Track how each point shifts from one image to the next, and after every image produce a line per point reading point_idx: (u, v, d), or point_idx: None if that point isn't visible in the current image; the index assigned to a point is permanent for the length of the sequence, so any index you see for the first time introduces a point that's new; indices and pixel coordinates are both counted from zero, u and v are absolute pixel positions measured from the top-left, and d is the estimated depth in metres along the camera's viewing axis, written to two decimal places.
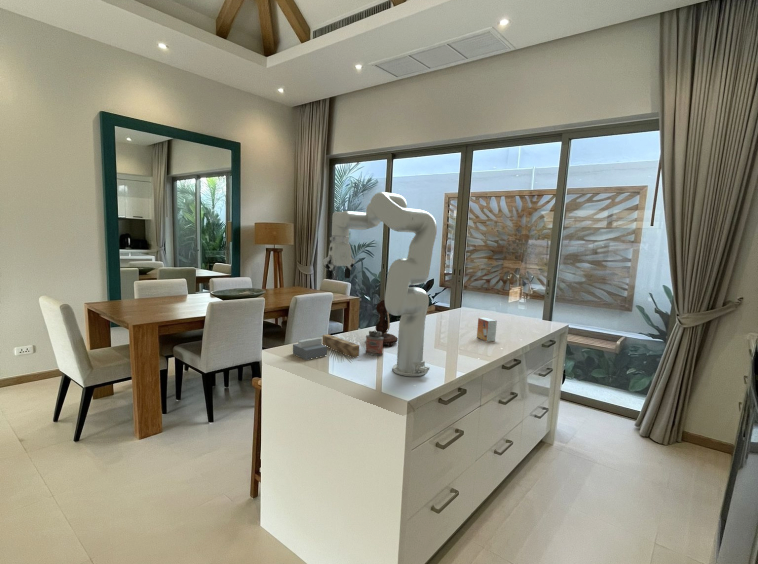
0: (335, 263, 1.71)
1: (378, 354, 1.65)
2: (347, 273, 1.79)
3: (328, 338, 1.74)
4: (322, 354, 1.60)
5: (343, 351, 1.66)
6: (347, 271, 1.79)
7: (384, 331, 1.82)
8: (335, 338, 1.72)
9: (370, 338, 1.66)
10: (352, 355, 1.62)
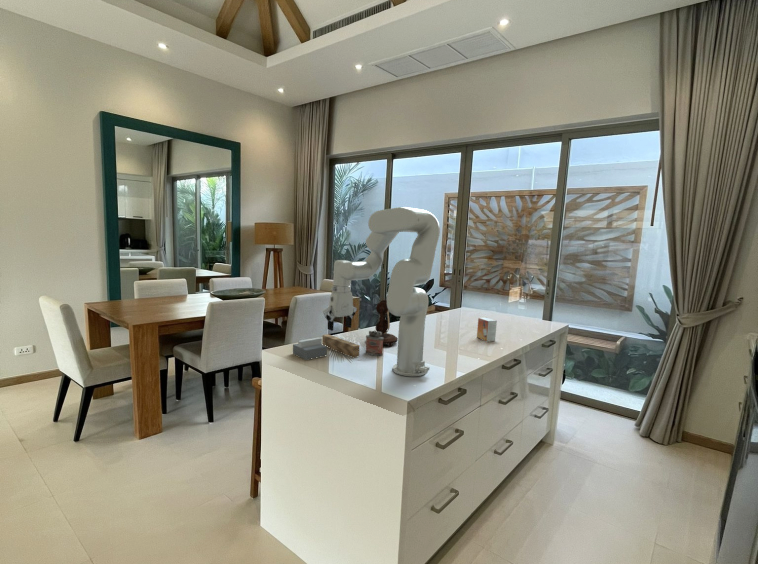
0: (336, 314, 1.64)
1: (378, 354, 1.65)
2: (348, 322, 1.72)
3: (328, 338, 1.74)
4: (322, 354, 1.60)
5: (343, 351, 1.66)
6: (348, 320, 1.72)
7: (384, 331, 1.82)
8: (335, 338, 1.72)
9: (370, 338, 1.66)
10: (352, 355, 1.62)
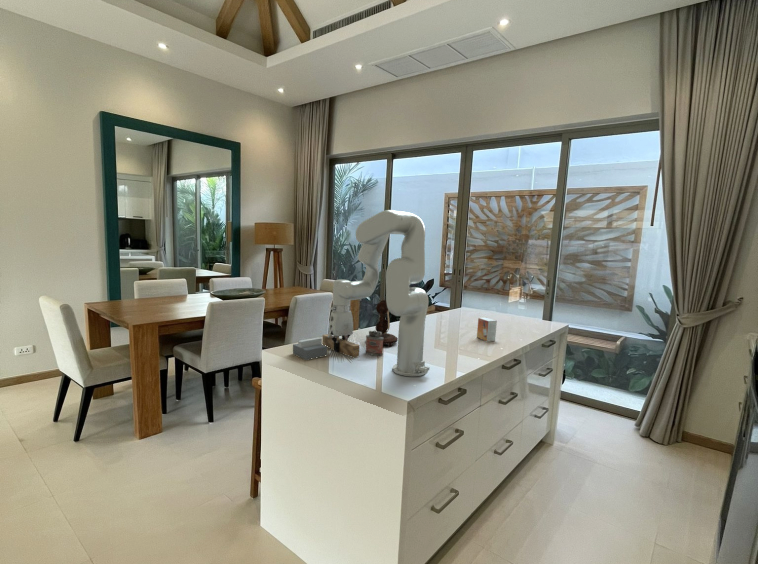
0: (336, 334, 1.65)
1: (378, 354, 1.65)
2: None
3: (328, 338, 1.74)
4: (322, 354, 1.60)
5: (343, 351, 1.66)
6: None
7: (384, 331, 1.82)
8: None
9: (370, 338, 1.66)
10: (352, 355, 1.62)
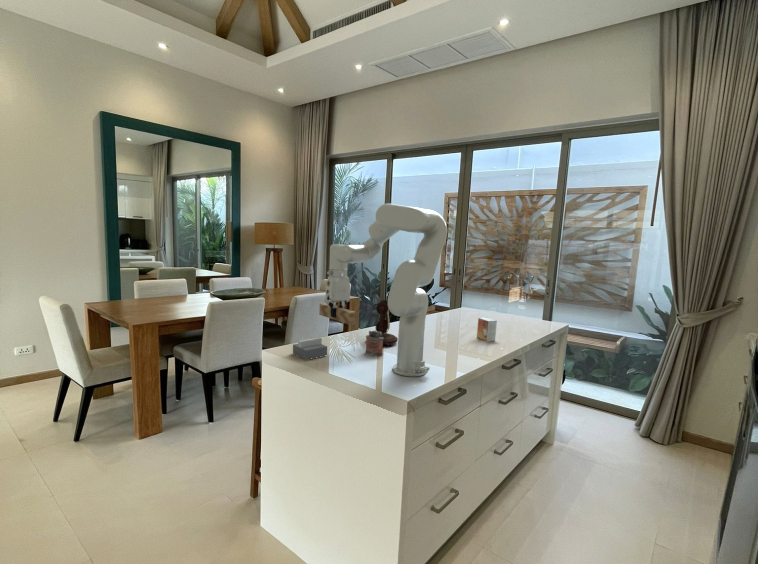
0: (333, 298, 1.62)
1: (378, 354, 1.65)
2: None
3: (325, 306, 1.71)
4: (322, 354, 1.60)
5: (340, 318, 1.63)
6: None
7: (384, 331, 1.82)
8: None
9: (370, 338, 1.66)
10: (348, 322, 1.59)
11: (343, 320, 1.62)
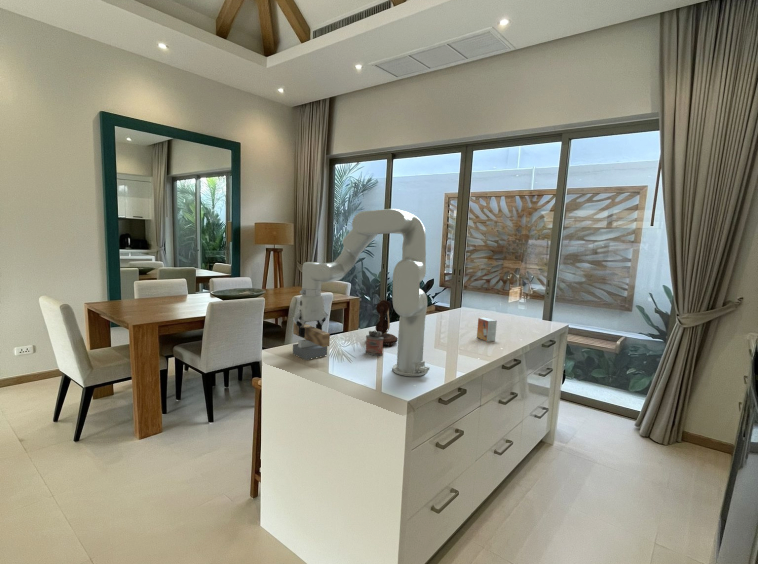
0: (305, 319, 1.56)
1: (378, 354, 1.65)
2: None
3: None
4: (322, 354, 1.60)
5: (313, 339, 1.57)
6: (318, 327, 1.63)
7: (384, 331, 1.82)
8: (306, 325, 1.63)
9: (370, 338, 1.66)
10: (322, 344, 1.53)
11: (316, 342, 1.55)
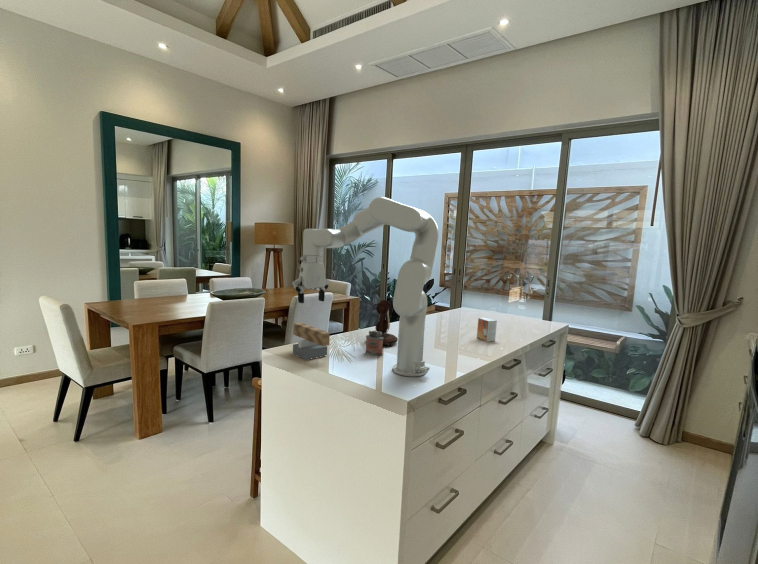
0: (306, 285, 1.54)
1: (378, 354, 1.65)
2: (321, 295, 1.62)
3: (298, 326, 1.65)
4: (322, 354, 1.60)
5: (313, 339, 1.57)
6: (321, 293, 1.62)
7: (384, 331, 1.82)
8: (306, 326, 1.63)
9: (370, 338, 1.66)
10: (322, 343, 1.53)
11: (316, 341, 1.55)
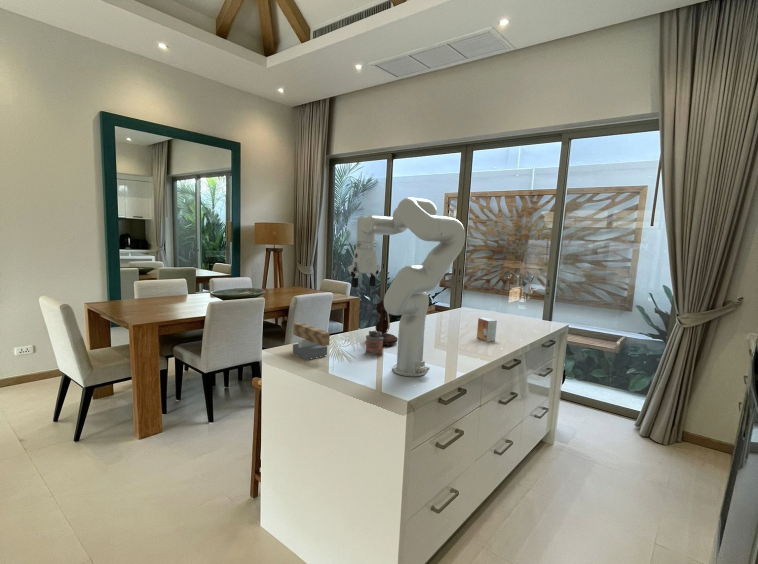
0: (361, 270, 1.62)
1: (378, 354, 1.65)
2: (372, 281, 1.70)
3: (298, 326, 1.65)
4: (322, 354, 1.60)
5: (313, 339, 1.57)
6: (372, 279, 1.70)
7: (384, 331, 1.82)
8: (306, 326, 1.63)
9: (370, 338, 1.66)
10: (322, 343, 1.53)
11: (316, 341, 1.55)
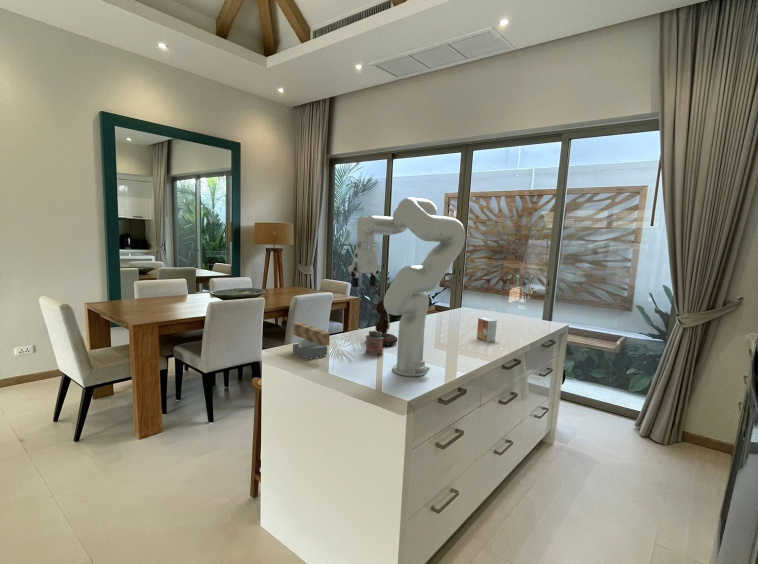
0: (361, 270, 1.62)
1: (378, 354, 1.65)
2: (372, 281, 1.70)
3: (298, 326, 1.65)
4: (322, 354, 1.60)
5: (313, 339, 1.57)
6: (372, 278, 1.70)
7: (384, 331, 1.82)
8: (306, 326, 1.63)
9: (370, 338, 1.66)
10: (322, 343, 1.53)
11: (316, 341, 1.55)
